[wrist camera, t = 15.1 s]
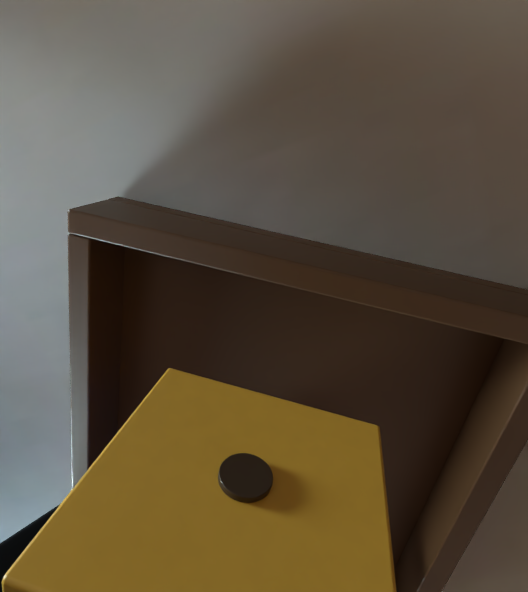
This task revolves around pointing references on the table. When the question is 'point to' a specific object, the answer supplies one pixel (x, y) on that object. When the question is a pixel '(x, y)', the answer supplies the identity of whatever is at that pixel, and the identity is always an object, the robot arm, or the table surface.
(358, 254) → the tray
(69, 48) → the table surface
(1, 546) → the robot arm
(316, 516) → the ochre die
